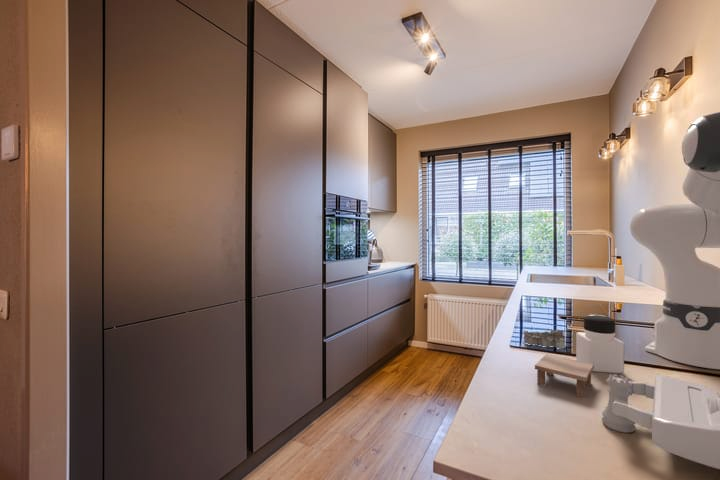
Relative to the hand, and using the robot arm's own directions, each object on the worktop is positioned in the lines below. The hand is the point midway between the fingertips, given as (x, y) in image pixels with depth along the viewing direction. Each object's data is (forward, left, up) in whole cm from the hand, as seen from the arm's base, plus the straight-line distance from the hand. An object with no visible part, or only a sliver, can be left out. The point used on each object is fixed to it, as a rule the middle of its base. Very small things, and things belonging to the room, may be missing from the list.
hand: (615, 395), depth 55 cm
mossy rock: (-38, -20, -6) cm, 43 cm away
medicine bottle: (-28, -6, -5) cm, 29 cm away
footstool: (-12, -10, -5) cm, 16 cm away
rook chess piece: (0, 0, -5) cm, 5 cm away
